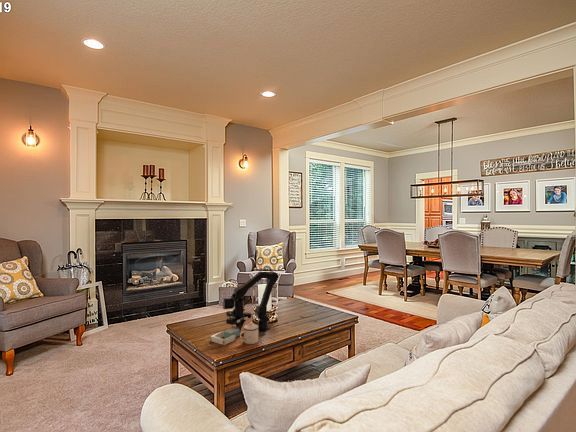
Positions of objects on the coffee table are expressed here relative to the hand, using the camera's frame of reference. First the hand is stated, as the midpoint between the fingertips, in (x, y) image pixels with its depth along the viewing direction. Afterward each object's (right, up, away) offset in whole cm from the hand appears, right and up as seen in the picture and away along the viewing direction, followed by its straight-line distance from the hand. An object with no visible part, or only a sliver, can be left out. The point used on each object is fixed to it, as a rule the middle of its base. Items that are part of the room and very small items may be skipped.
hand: (239, 331), depth 214 cm
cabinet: (-4, -1, -6) cm, 7 cm away
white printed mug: (+8, -1, -15) cm, 17 cm away
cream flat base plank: (-8, -1, -12) cm, 15 cm away
